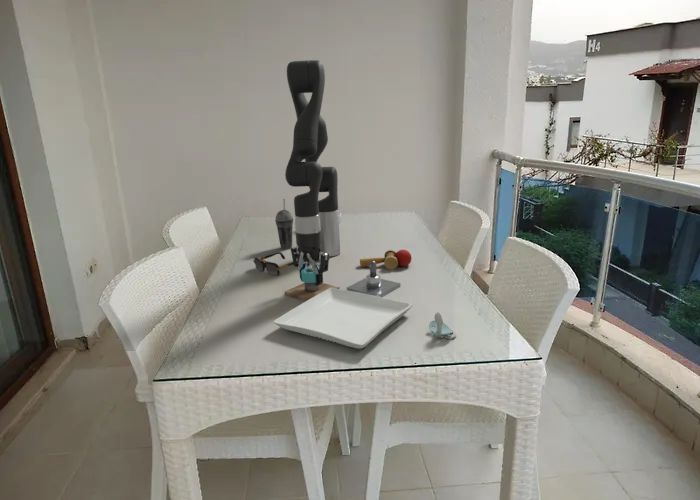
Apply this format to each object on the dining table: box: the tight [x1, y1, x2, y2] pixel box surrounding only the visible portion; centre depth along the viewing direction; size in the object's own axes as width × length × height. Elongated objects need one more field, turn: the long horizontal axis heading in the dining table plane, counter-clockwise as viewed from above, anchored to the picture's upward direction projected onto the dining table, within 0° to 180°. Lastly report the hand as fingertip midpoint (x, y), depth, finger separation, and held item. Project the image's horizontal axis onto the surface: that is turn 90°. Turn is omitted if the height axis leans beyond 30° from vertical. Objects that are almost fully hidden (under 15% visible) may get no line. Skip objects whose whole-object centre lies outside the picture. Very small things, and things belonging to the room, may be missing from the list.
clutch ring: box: [301, 266, 319, 283], centre depth 149 cm, size 6×6×3 cm
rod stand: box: [284, 268, 340, 302], centre depth 150 cm, size 12×12×8 cm
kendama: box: [359, 249, 412, 270], centre depth 171 cm, size 8×6×18 cm
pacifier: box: [428, 311, 457, 340], centre depth 120 cm, size 7×6×6 cm
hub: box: [346, 261, 401, 297], centre depth 151 cm, size 12×12×9 cm
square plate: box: [272, 288, 413, 350], centre depth 129 cm, size 27×27×4 cm
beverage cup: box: [274, 198, 294, 250], centre depth 195 cm, size 7×7×20 cm
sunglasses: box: [252, 252, 310, 276], centre depth 174 cm, size 14×15×5 cm
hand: (311, 282), depth 150 cm, fingers closed on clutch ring, 5 cm apart
